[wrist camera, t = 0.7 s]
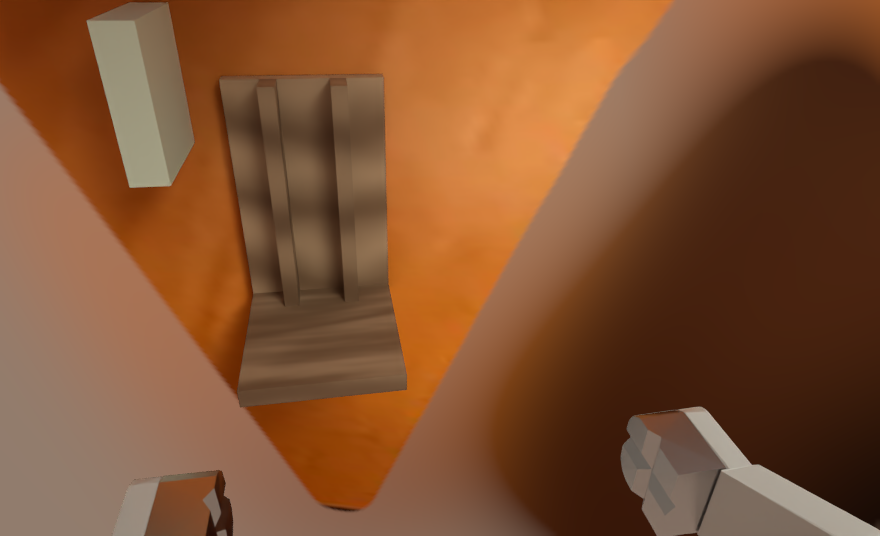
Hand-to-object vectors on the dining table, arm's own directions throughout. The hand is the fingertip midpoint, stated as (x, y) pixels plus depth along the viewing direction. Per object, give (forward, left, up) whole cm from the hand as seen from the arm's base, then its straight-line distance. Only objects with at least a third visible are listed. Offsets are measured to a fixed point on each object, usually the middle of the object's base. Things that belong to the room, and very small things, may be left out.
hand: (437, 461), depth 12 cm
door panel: (+1, -13, -39) cm, 41 cm away
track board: (+11, -3, -39) cm, 41 cm away
